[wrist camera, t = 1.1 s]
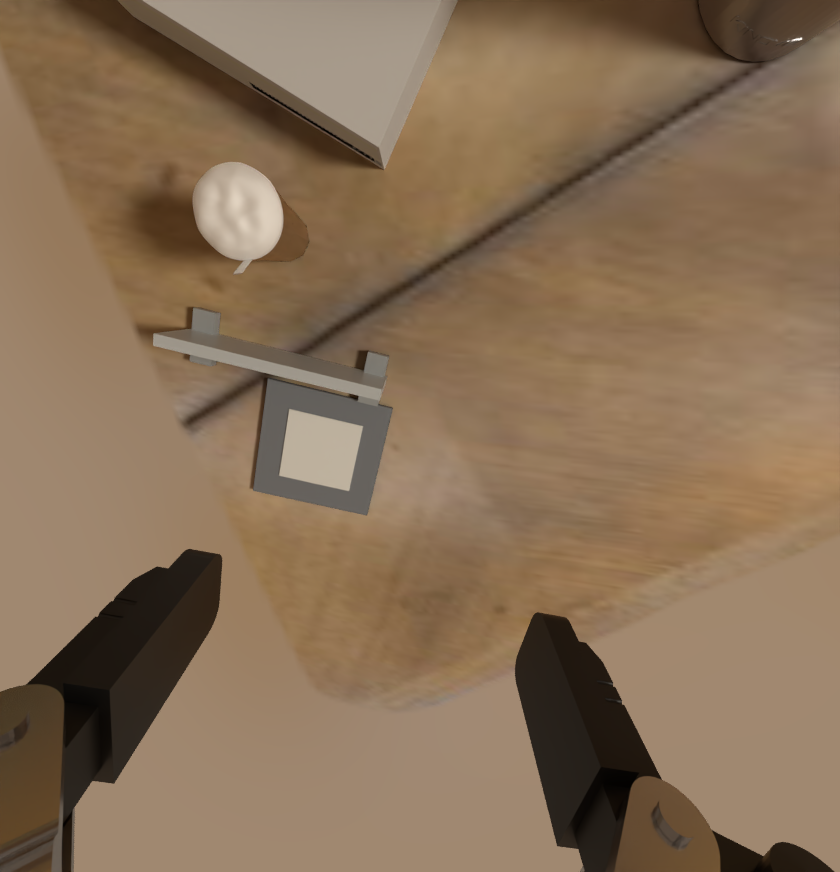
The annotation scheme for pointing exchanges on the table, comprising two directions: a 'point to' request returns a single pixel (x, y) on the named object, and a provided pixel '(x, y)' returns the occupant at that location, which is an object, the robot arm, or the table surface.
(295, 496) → the mat
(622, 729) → the robot arm
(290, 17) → the disc drive
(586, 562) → the table surface
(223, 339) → the divider wall
